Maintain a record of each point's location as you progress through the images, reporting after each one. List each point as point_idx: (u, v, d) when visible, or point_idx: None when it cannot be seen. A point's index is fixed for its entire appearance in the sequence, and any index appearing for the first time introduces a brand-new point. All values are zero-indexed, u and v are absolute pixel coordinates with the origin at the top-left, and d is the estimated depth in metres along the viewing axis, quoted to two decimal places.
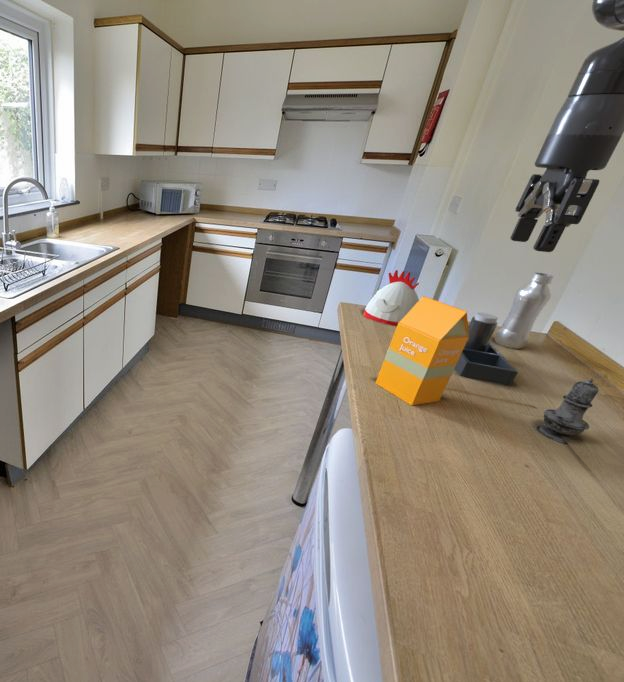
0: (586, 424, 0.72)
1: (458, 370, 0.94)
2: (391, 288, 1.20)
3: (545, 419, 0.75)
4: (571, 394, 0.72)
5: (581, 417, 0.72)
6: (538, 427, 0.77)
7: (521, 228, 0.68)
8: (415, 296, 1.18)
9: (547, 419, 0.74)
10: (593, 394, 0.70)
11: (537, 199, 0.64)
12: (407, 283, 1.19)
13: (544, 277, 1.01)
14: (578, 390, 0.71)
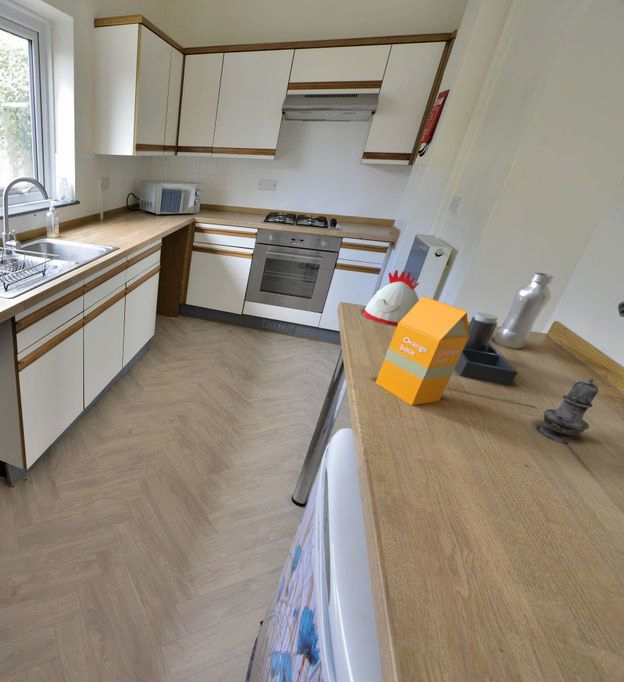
0: (586, 424, 0.72)
1: (458, 370, 0.94)
2: (391, 288, 1.20)
3: (545, 419, 0.75)
4: (571, 394, 0.72)
5: (581, 417, 0.72)
6: (538, 427, 0.77)
7: None
8: (415, 296, 1.18)
9: (547, 419, 0.74)
10: (593, 394, 0.70)
11: None
12: (407, 283, 1.19)
13: (544, 277, 1.01)
14: (578, 390, 0.71)
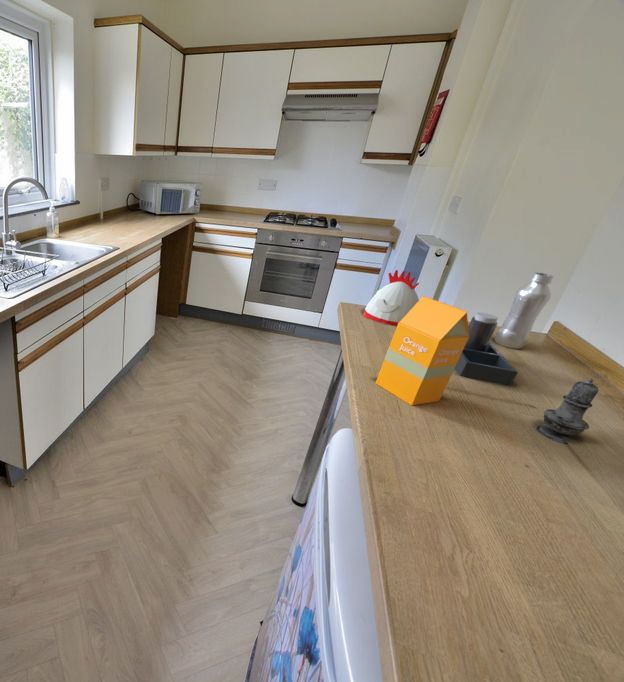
0: (586, 424, 0.72)
1: (458, 370, 0.94)
2: (391, 288, 1.20)
3: (545, 419, 0.75)
4: (571, 394, 0.72)
5: (581, 417, 0.72)
6: (538, 427, 0.77)
7: None
8: (415, 296, 1.18)
9: (547, 419, 0.74)
10: (593, 394, 0.70)
11: None
12: (407, 283, 1.19)
13: (544, 277, 1.01)
14: (578, 390, 0.71)
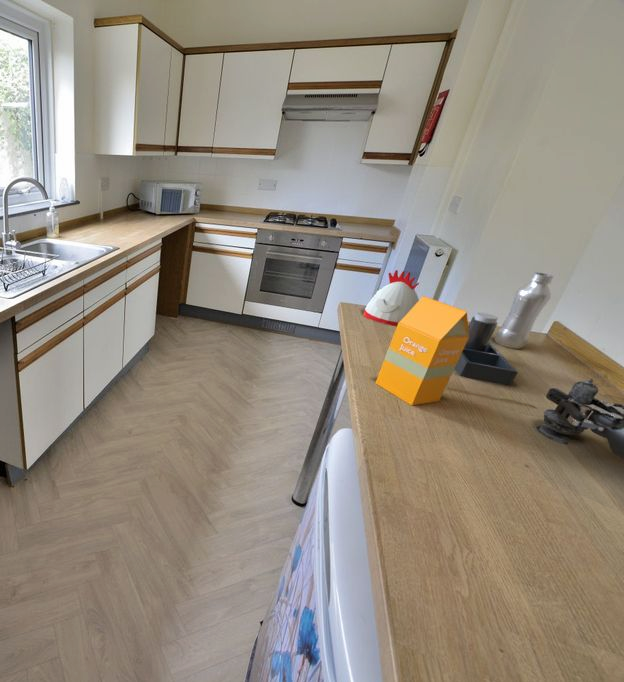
0: None
1: (458, 370, 0.94)
2: (391, 288, 1.20)
3: (545, 419, 0.75)
4: (571, 394, 0.72)
5: None
6: (538, 427, 0.77)
7: None
8: (415, 296, 1.18)
9: (547, 419, 0.74)
10: (593, 394, 0.70)
11: None
12: (407, 283, 1.19)
13: (544, 277, 1.01)
14: (577, 390, 0.71)
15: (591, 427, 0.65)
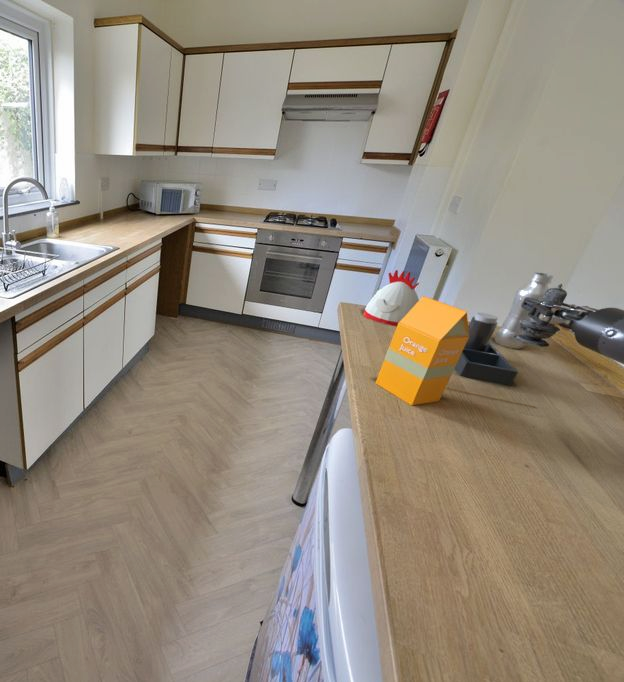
0: (557, 328, 0.79)
1: (458, 370, 0.94)
2: (391, 288, 1.20)
3: (521, 326, 0.82)
4: (543, 300, 0.79)
5: None
6: (515, 336, 0.84)
7: None
8: (415, 296, 1.18)
9: (522, 326, 0.82)
10: (562, 297, 0.77)
11: None
12: (407, 283, 1.19)
13: (544, 277, 1.01)
14: (549, 295, 0.78)
15: (559, 321, 0.73)
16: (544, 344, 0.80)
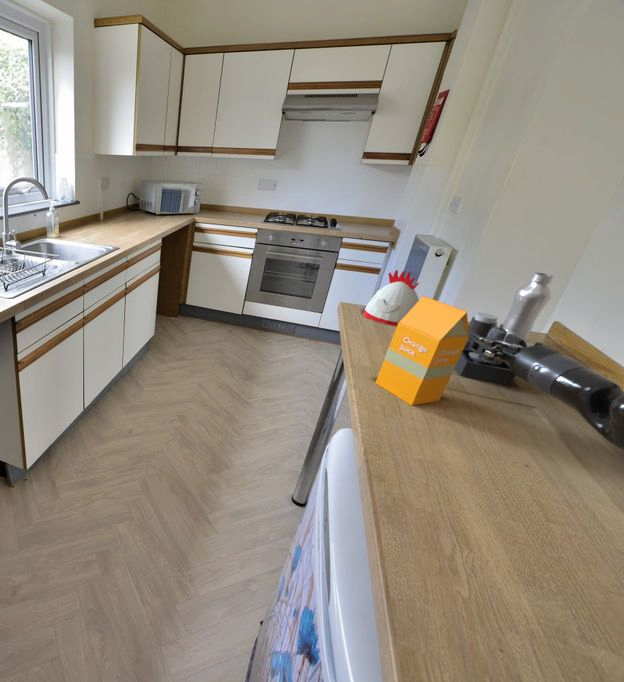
0: (499, 361, 0.92)
1: (458, 370, 0.94)
2: (391, 288, 1.20)
3: (469, 359, 0.94)
4: (488, 337, 0.91)
5: None
6: None
7: (514, 340, 0.91)
8: (415, 296, 1.18)
9: (471, 358, 0.94)
10: (503, 336, 0.89)
11: (522, 346, 0.86)
12: (407, 283, 1.19)
13: (544, 277, 1.01)
14: (492, 333, 0.90)
15: (501, 356, 0.84)
16: None
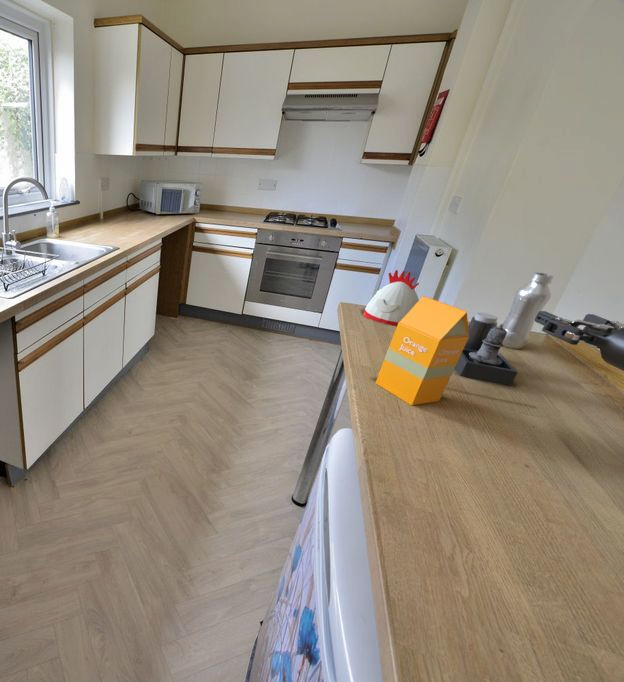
0: (499, 361, 0.92)
1: (458, 370, 0.94)
2: (391, 288, 1.20)
3: (469, 359, 0.94)
4: (488, 337, 0.91)
5: (495, 355, 0.91)
6: None
7: (595, 320, 0.75)
8: (415, 296, 1.18)
9: (471, 358, 0.94)
10: (503, 336, 0.89)
11: None
12: (407, 283, 1.19)
13: (544, 277, 1.01)
14: (492, 333, 0.90)
15: (588, 339, 0.69)
16: None
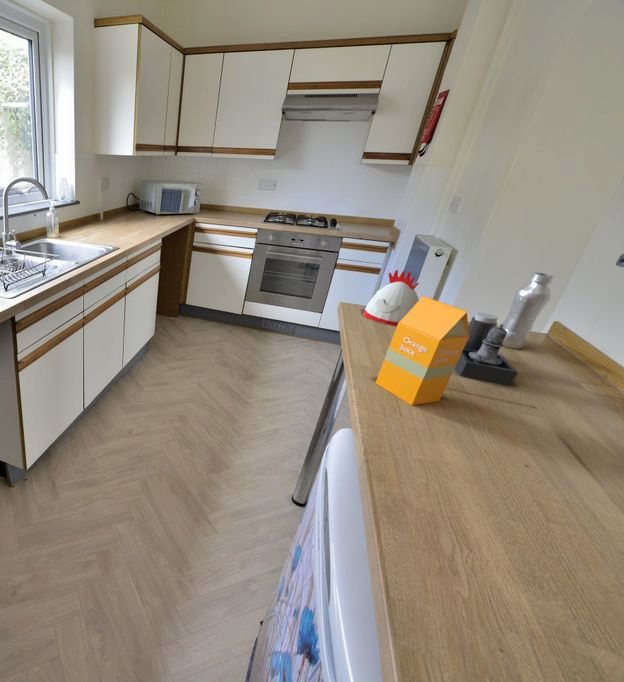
0: (499, 361, 0.92)
1: (458, 370, 0.94)
2: (391, 288, 1.20)
3: (469, 359, 0.94)
4: (488, 337, 0.91)
5: (495, 355, 0.91)
6: None
7: None
8: (415, 296, 1.18)
9: (471, 358, 0.94)
10: (503, 336, 0.89)
11: None
12: (407, 283, 1.19)
13: (544, 277, 1.01)
14: (492, 333, 0.90)
15: None
16: None
